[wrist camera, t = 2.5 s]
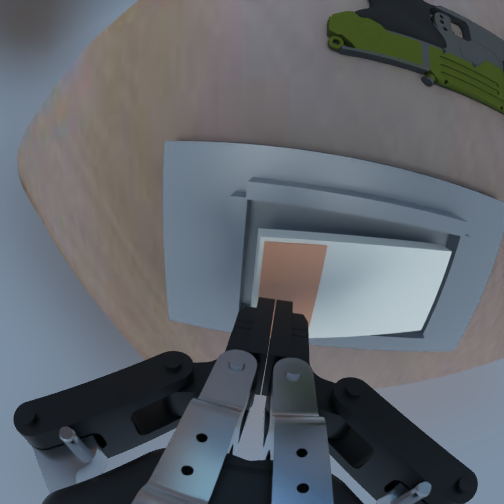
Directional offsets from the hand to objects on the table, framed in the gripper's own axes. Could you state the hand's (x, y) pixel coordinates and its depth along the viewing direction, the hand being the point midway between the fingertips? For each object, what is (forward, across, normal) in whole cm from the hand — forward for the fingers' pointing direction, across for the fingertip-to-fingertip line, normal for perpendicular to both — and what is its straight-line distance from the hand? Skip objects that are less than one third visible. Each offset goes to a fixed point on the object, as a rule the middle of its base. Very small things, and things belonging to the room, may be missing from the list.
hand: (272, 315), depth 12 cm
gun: (+9, -11, -21) cm, 26 cm away
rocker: (+4, -5, 0) cm, 6 cm away
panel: (+8, -5, 0) cm, 10 cm away
